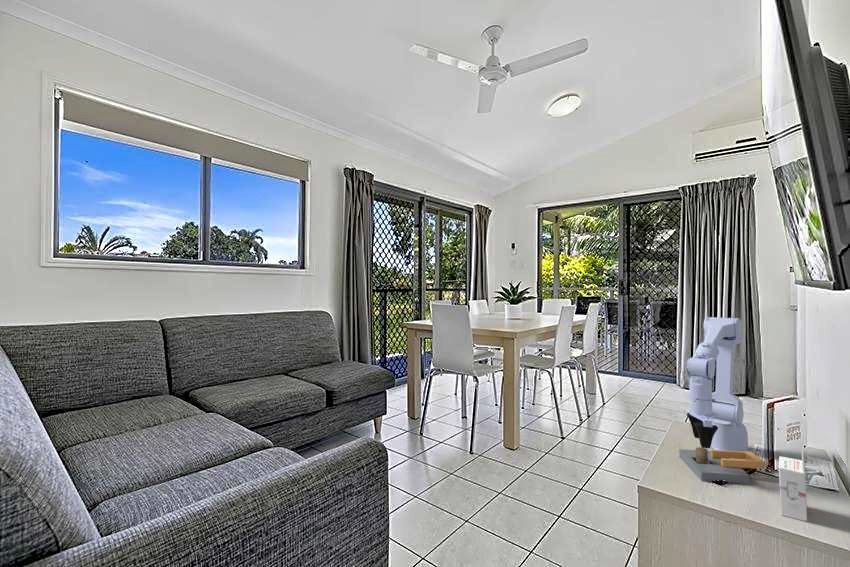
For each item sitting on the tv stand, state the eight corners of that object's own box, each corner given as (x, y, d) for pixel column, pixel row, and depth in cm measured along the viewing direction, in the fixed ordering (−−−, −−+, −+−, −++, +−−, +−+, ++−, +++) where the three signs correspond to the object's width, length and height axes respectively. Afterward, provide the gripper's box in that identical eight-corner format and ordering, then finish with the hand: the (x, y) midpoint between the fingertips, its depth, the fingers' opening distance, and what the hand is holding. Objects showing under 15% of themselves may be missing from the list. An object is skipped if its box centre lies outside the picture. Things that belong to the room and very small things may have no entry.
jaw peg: (695, 466, 127) (694, 446, 127) (706, 467, 126) (706, 448, 125) (697, 470, 124) (696, 450, 124) (709, 471, 123) (708, 451, 123)
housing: (721, 459, 131) (720, 451, 131) (749, 484, 115) (749, 475, 115) (679, 457, 133) (679, 449, 133) (701, 480, 118) (701, 472, 118)
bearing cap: (751, 458, 125) (750, 451, 125) (765, 469, 118) (765, 462, 118) (711, 456, 127) (711, 449, 127) (722, 466, 120) (722, 459, 120)
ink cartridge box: (779, 500, 107) (778, 443, 106) (805, 506, 103) (804, 448, 103) (779, 515, 100) (778, 455, 100) (807, 522, 97) (806, 460, 97)
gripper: (724, 406, 116) (725, 453, 116) (709, 392, 130) (710, 435, 130) (695, 404, 119) (696, 451, 119) (683, 390, 132) (684, 432, 133)
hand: (702, 442), depth 125 cm, fingers open, 7 cm apart
